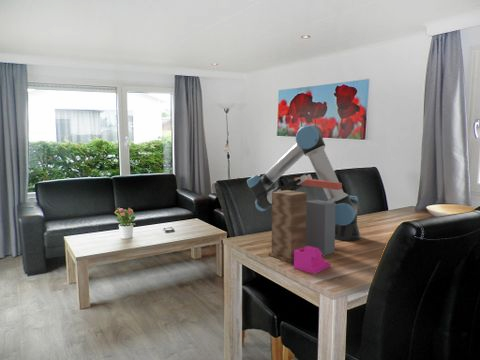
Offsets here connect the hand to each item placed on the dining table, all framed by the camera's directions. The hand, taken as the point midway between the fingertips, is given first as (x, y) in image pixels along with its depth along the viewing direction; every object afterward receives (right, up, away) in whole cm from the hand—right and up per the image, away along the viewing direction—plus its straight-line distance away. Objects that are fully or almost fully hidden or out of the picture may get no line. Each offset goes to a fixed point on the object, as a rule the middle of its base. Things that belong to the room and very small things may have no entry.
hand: (308, 176), depth 191 cm
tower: (-11, -37, -9) cm, 40 cm away
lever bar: (+3, -5, -3) cm, 7 cm away
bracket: (-2, -39, -23) cm, 46 cm away
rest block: (+5, -36, -1) cm, 36 cm away
